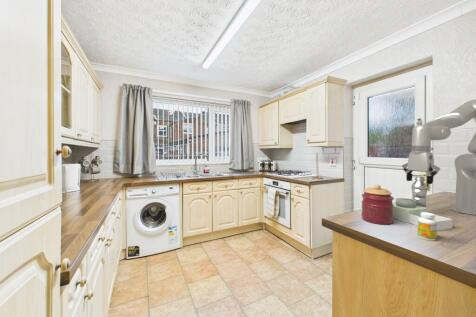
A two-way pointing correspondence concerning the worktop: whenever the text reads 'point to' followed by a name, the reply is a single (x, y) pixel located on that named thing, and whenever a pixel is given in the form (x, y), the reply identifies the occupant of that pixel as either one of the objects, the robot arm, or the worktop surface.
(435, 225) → the supplement bottle
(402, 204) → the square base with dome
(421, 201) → the silver bottle
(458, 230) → the worktop surface
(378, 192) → the canister
